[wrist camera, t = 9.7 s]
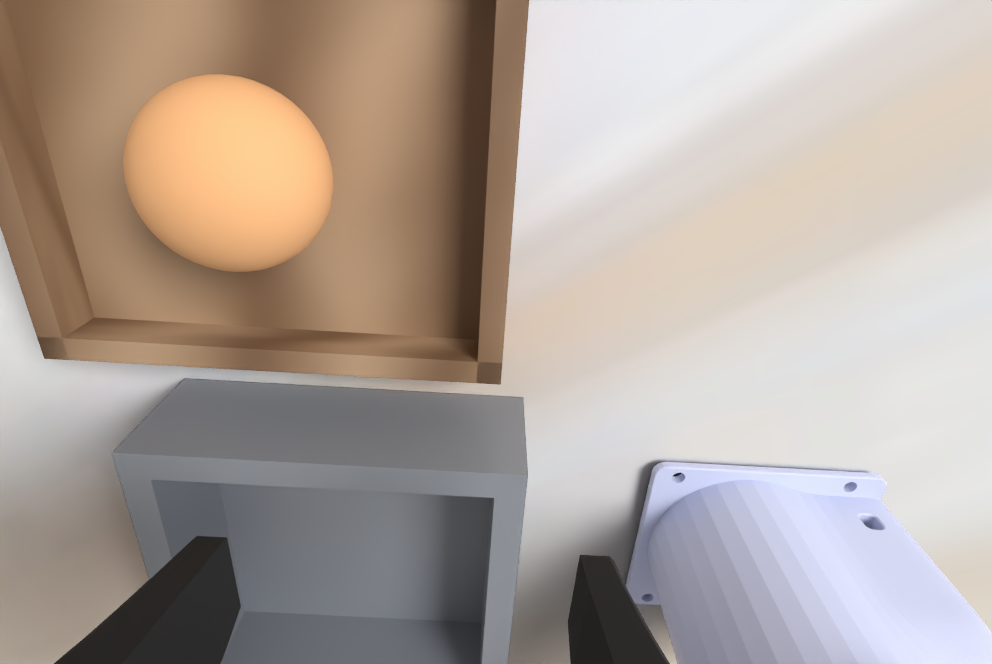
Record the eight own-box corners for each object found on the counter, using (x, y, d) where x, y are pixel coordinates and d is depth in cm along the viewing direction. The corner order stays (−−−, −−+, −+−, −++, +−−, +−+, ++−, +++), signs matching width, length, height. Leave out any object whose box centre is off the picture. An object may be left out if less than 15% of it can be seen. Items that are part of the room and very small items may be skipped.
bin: (523, 397, 22) (527, 475, 18) (501, 622, 28) (501, 720, 24) (184, 378, 22) (111, 452, 18) (233, 609, 27) (186, 705, 23)
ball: (346, 77, 16) (291, 85, 12) (355, 245, 18) (311, 306, 14) (170, 66, 16) (45, 69, 12) (199, 236, 18) (104, 295, 14)
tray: (531, -75, 15) (536, -96, 13) (500, 350, 21) (500, 384, 19) (-33, -115, 15) (-123, -143, 13) (91, 326, 21) (44, 358, 19)
